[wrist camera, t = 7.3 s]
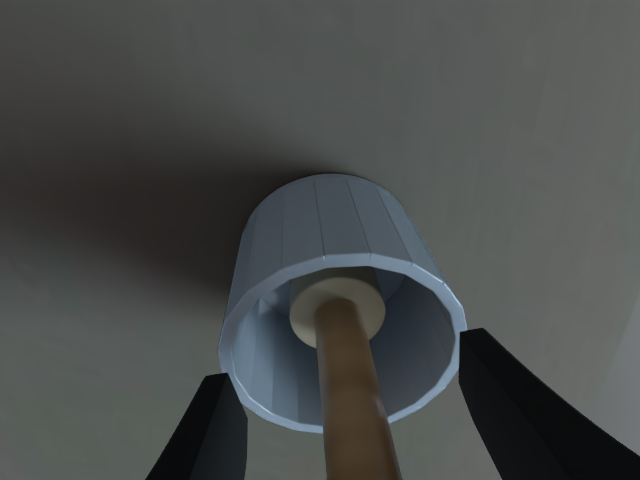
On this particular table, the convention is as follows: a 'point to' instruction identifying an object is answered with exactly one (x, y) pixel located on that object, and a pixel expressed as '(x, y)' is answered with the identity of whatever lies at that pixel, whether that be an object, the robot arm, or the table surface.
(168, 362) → the table surface
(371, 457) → the brush
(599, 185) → the table surface
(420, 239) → the blue pencil cup
